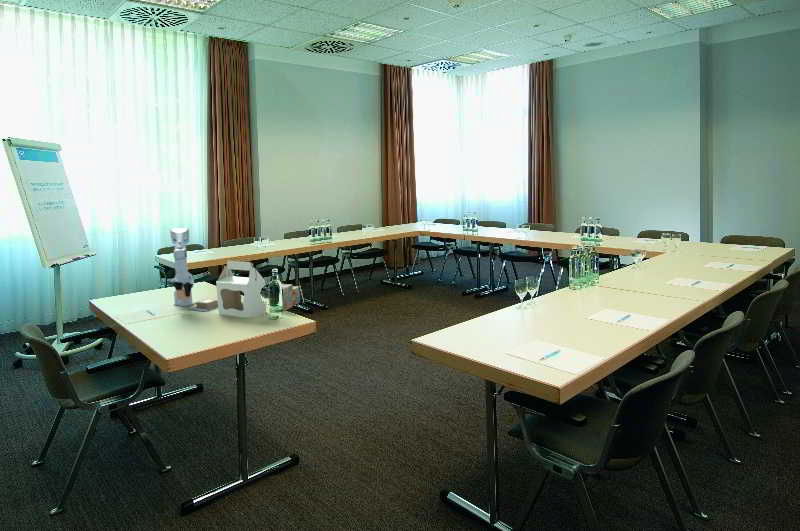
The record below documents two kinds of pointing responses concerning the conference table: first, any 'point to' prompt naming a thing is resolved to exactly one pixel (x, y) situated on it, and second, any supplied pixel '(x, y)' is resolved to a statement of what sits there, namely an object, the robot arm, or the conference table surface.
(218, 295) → the gable box
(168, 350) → the conference table surface
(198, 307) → the plate
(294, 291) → the white printed box
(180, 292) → the terracotta cube
